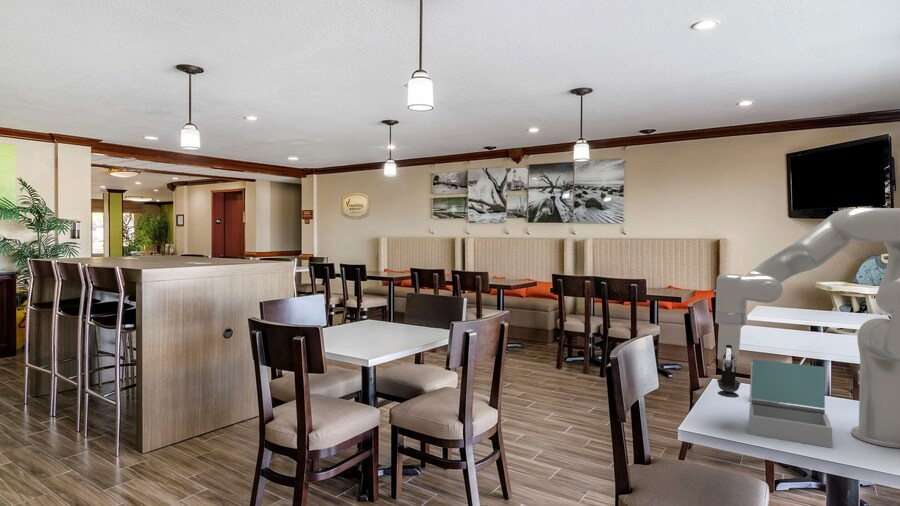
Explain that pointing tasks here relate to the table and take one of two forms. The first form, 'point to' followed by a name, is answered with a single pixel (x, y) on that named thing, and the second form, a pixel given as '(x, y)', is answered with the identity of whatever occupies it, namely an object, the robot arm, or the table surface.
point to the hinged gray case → (790, 425)
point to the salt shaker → (729, 387)
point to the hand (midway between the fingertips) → (728, 382)
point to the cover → (788, 385)
